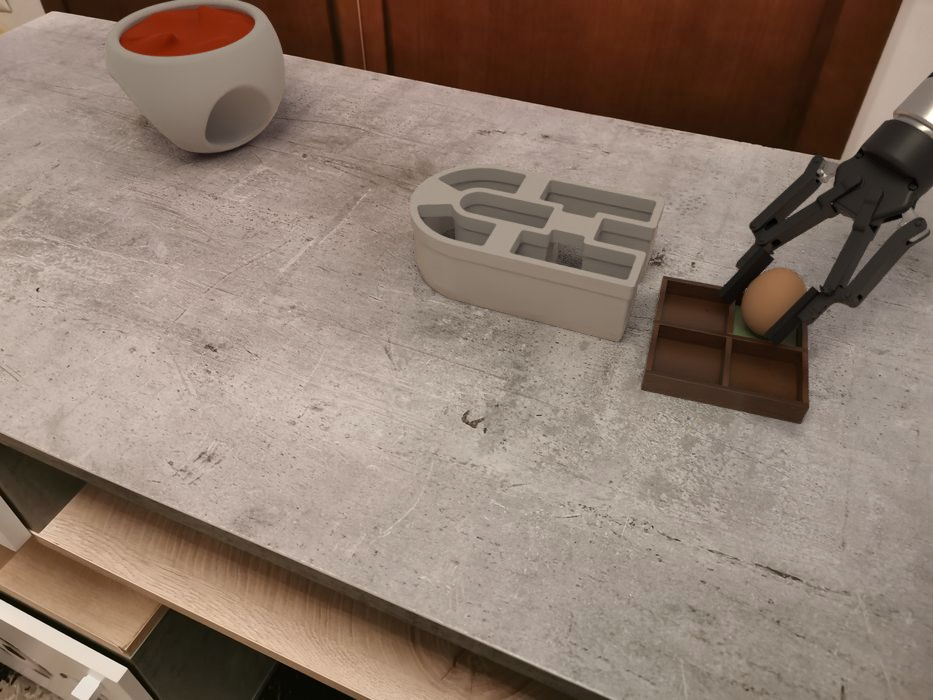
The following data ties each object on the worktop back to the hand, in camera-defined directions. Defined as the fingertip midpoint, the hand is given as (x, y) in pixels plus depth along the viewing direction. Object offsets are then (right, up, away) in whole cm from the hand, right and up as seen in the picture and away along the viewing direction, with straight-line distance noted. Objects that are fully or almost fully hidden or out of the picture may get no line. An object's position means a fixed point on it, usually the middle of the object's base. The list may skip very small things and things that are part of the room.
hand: (746, 318), depth 76 cm
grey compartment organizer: (-22, +6, +12) cm, 26 cm away
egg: (+3, -1, +4) cm, 5 cm away
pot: (-68, +29, +36) cm, 82 cm away
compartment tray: (-2, -4, +2) cm, 5 cm away
